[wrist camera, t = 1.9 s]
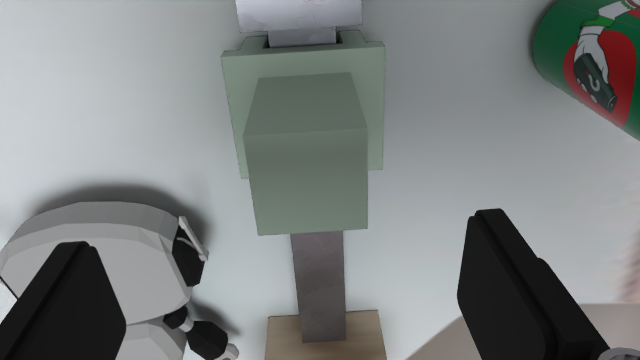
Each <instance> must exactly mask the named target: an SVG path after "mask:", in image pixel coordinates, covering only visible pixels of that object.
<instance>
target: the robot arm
mask: <svg viewBox="0 0 640 360" xmlns="http://www.w3.org/2000/svg"><path fill="white" fill-rule="evenodd" d="M457 300H458V304H459V307H460V310H461V312H462V314H463V317H464V319H465V321H466V324H467V326H468V328H469V331H470V333H471V335H472V338H473V340H474V342H475V345H476V347H477V349H478V351H479V354H480V356H481V358H482V360H640V351H637V350H634V349H628V348H613V349H610V347H609V346H608V345H607V343H606V342H605V341H604V339H603V338H602V337H601V335H600V334H599V333H598V331H597V330H596V329H595V327H594V326H593V324H592V323H591V322H590V321H589V319H588V318H587V316H586V315H585V314H584V312H583V311H582V310H581V308H580V307H579V306H578V304H577V303H576V301H575V300H574V299H573V297H572V296H571V295H570V293H569V292H568V291H567V289H566V288H565V287H564V285H563V284H562V283H561V281H560V280H559V279H558V277H557V276H556V274H555V273H554V272H553V270H552V269H551V268H550V266H549V265H548V264H547V263H546V262H545V261H544V260H543V259H541V258H537V256H536V255H535V254H534V252H533V251H532V249H531V248H530V247H529V245H528V244H527V243H526V241H525V240H524V238H523V237H522V236H521V234H520V233H519V231H518V230H517V229H516V227H515V226H514V225H513V223H512V222H511V220H510V219H509V218H508V216H507V215H506V214H505V212H504V211H503V210H502V209H500V208H498V209H485V210H478V211H476V213H475V216H471V217H469V219H468V223H467V230H466V237H465V244H464V250H463V257H462V264H461V270H460V277H459V284H458V290H457ZM126 326H127V325H126V319H125V317H124V314H123V312H122V310H121V307H120V305H119V302H118V300H117V297H116V295H115V292H114V290H113V288H112V285H111V283H110V280H109V278H108V275H107V273H106V270H105V268H104V266H103V263H102V261H101V258H100V256H99V253H98V251H97V249H96V248H95V247H94V246H90V245H89V243H87V242H86V241H74V242H61V243H59V244H58V245H57V246H56V247H55V248H54V250H53V251H52V252H51V254H50V255H49V257H48V258H47V259H46V261H45V262H44V264H43V265H42V266H41V268H40V269H39V271H38V272H37V273H36V275H35V276H34V278H33V279H32V280H31V282H30V283H29V285H28V286H27V287H26V289H25V290H24V292H23V293H22V294H21V296H20V297H19V299H18V300H17V301H16V303H15V304H14V306H13V307H12V308H11V310H10V311H9V313H8V314H7V315H6V317H5V318H4V320H3V321H2V322H1V324H0V360H115V359H116V357H117V354H118V352H119V349H120V347H121V344H122V342H123V339H124V337H125V334H126Z"/></svg>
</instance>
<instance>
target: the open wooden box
mask: <svg viewBox="0 0 640 360" xmlns="http://www.w3.org/2000/svg"><path fill="white" fill-rule="evenodd" d="M345 314H346V341H331V342H315V343H302V334H301V325H300V316H299V315H294V316H279V317H269V318H268V329H267V341H266V352H265V360H387V357H386V352H385V347H384V341H383V336H382V331H381V326H380V320H379V315H378V310H373V311H357V312H345Z"/></svg>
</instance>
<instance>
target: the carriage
mask: <svg viewBox="0 0 640 360" xmlns="http://www.w3.org/2000/svg"><path fill="white" fill-rule="evenodd" d="M339 38H340V44H329V45H313V46H298V47H282V48H268V45H267V36H258V37H246V39H245V41H244V43H243V45H242V47H241V49H240V50H234V51H224V52H223V54H222V56H221V62H222V68H223V74H224V80H225V86H226V92H227V98H228V104H229V110H230V115H231V121H232V127H233V133H234V139H235V145H236V151H237V157H238V163H239V169H240V174H241V179H243V178H249V181H250V187H251V193H252V200H253V206H254V212H255V218H256V225H257V231H258V236H262V235H277V234H293V233H309V232H325V231H340V230H356V229H367V226H368V171H369V170H382V166H383V119H384V73H385V46H384V44H383V43H382V41H377V42H365V40H364V38H363V36H362V34H361V32H360V30H353V31H339Z"/></svg>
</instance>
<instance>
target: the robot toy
mask: <svg viewBox="0 0 640 360" xmlns="http://www.w3.org/2000/svg"><path fill="white" fill-rule="evenodd" d="M74 241H86V242H87V243H89V245H90V246H94V247H95V248H96V249H97V251H98V253H99V256H100V258H101V261H102V263H103V266H104V268H105V270H106V273H107V275H108V278H109V280H110V283H111V285H112V288H113V290H114V292H115V295H116V297H117V300H118V302H119V305H120V307H121V310H122V312H123V314H124V317H125V319H126V325H127V326H126V334H125V337H124V339H123V342H122V344H121V347H120V349H119V352H118V354H117V357H116V359H115V360H182V359H183V355H184V351H185V346H186V342H187V341H188V343H189V346H190V349H191V350H192V351H194V352H195V353H197V354H198V355H200V356H201V357H203V358H204V359H205V360H231V359H232V360H235V359H237V357H238V355H239V351H238V349H237V348H236V346H235V345H234V344H231V343H228V336H227V333H226V332H224V331H223V330H222V329H221V328H219V327H218V326H217V325H215V324H214V323H213V322H210V321H193V320H192V319H190V318H189V317H188V316H187V308H186V307H185V306H184V304H186V303H187V302H188V301H189V300H190V296H191V292H192V288H193V286H195V285H197V284H199V283H200V280H201V276H202V272H203V267H204V263H205V261H206V260H208V253H209V252H208V251H207V249H206V247H202V246H201V244H200V242H199V241H198V239H197V238H196V236H195V235H194V233H193V231H192V230H191V228H190V227H189V225H188V221H187V220H186V218H185V217H183V216H179V222H178V220H177V218H176V217H174V216H173V215H171V214H170V213H168V212H166V211H164V210H161V209H158V208H155V207H152V206H149V205H145V204H139V203H130V202H118V201H116V202H77V203H74V204H70V205H67V206H63V207H60V208H56V209H53V210H49V211H46V212H43V213H41V214H39V215H37V216H34V217H32V218H30V219H29V220H27V221H25V222H24V223H23V224H22V225H21V227H20V228H19V229H18V230H17V231H16V232H15V234H14V235H13V236H12V238H11V239H10V240H9V241H8V243H7V244H6V245H5V246H4V248H3V249H2V250H1V252H0V279H1V280H0V282H1V283H2V284H4V285H5V286H6V287H7V288H8V289H9V290H10V291H11V293H12V294H13V295H14V296H15V298H16V299H17V300H18V299H19V297H20V296H21V294H22V293H23V292H24V290H25V289H26V287H27V286H28V285H29V283H30V282H31V280H32V279H33V278H34V276H35V275H36V273H37V272H38V271H39V269H40V268H41V266H42V265H43V264H44V262H45V261H46V259H47V258H48V257H49V255H50V254H51V252H52V251H53V250H54V248H55V247H56V246H57V245H58V244H59V243H61V242H74Z"/></svg>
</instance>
